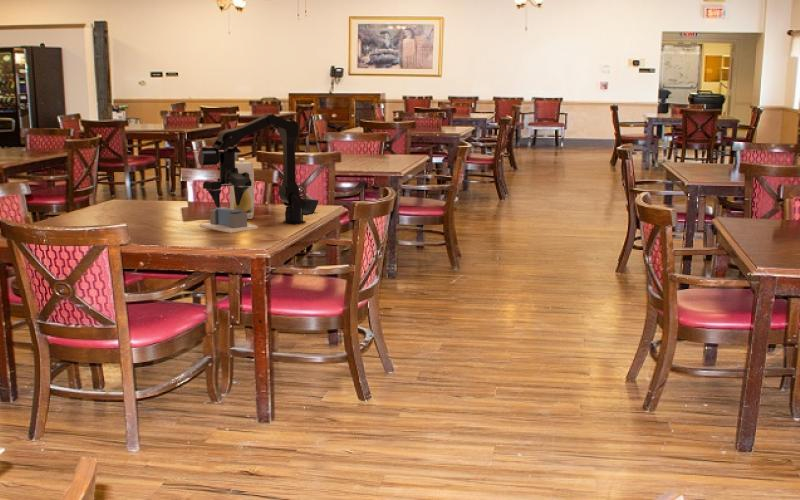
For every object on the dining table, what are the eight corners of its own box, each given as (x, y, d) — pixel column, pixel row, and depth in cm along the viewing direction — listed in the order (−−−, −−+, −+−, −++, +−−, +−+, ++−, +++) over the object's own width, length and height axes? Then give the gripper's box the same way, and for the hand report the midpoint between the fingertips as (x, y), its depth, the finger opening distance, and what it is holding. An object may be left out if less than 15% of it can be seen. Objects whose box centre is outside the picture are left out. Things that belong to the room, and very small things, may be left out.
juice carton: (231, 219, 348) (230, 159, 343) (229, 216, 356) (228, 157, 351) (255, 219, 351) (254, 159, 346) (252, 216, 358) (252, 157, 353)
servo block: (224, 222, 336) (224, 205, 334) (242, 226, 329) (242, 209, 327) (215, 223, 332) (214, 207, 331) (233, 227, 325) (233, 210, 324)
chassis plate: (227, 222, 341) (227, 206, 340) (257, 228, 330) (257, 212, 329) (199, 226, 332) (199, 210, 330) (230, 232, 320) (230, 216, 319)
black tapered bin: (282, 210, 366) (292, 189, 370) (287, 218, 372) (296, 198, 376) (307, 216, 362) (316, 195, 366) (312, 224, 369) (321, 204, 372)
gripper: (220, 168, 314) (221, 211, 317) (261, 165, 328) (261, 206, 331) (201, 165, 321) (202, 208, 324) (241, 162, 335) (242, 203, 338)
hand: (228, 206), depth 329 cm, fingers open, 9 cm apart
